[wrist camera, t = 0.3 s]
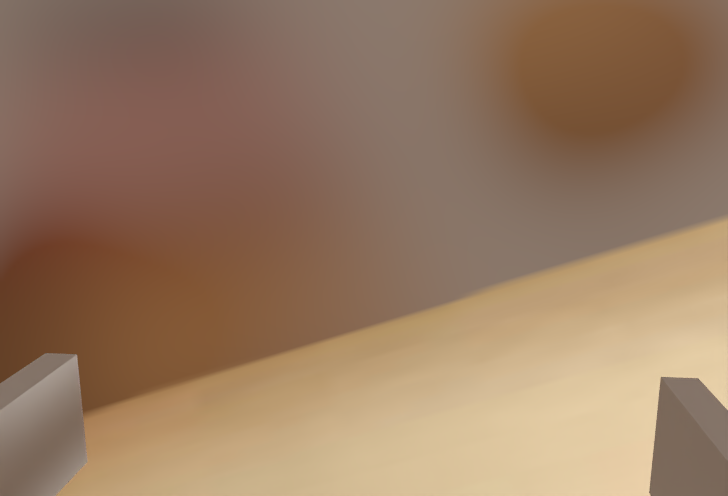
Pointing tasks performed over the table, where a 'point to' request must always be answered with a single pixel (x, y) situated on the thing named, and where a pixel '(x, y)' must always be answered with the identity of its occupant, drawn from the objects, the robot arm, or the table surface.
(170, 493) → the table surface
